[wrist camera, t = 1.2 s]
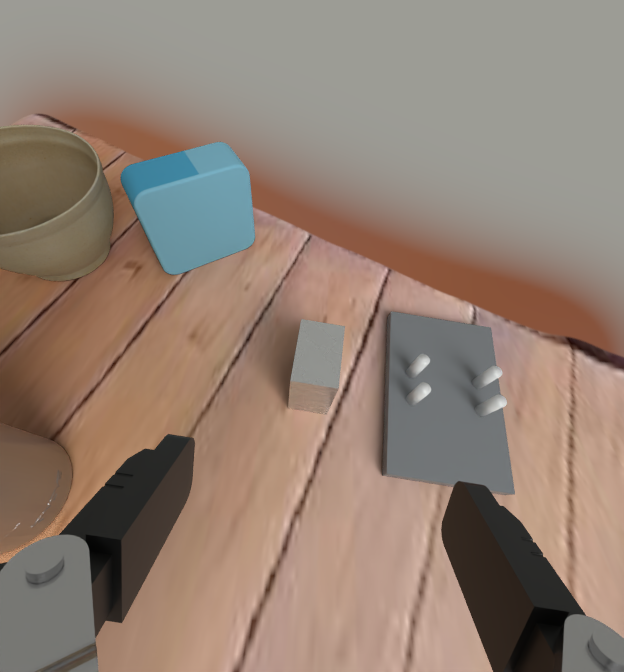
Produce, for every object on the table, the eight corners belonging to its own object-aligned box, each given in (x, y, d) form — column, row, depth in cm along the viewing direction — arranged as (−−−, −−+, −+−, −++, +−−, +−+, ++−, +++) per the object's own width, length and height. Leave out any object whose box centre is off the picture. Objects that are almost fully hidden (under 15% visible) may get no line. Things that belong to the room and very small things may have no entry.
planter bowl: (-38, 287, 38) (-147, 209, 28) (50, 196, 45) (-11, 111, 36) (94, 322, 37) (30, 255, 27) (161, 223, 45) (129, 144, 35)
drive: (287, 408, 34) (289, 380, 27) (297, 356, 37) (300, 319, 30) (327, 414, 34) (338, 388, 27) (333, 362, 37) (345, 326, 30)
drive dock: (382, 475, 32) (398, 469, 27) (387, 318, 40) (400, 294, 36) (505, 495, 32) (541, 492, 27) (484, 333, 41) (508, 311, 36)
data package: (241, 224, 46) (230, 137, 35) (256, 245, 44) (249, 161, 34) (155, 254, 42) (113, 167, 32) (168, 279, 40) (128, 196, 30)
